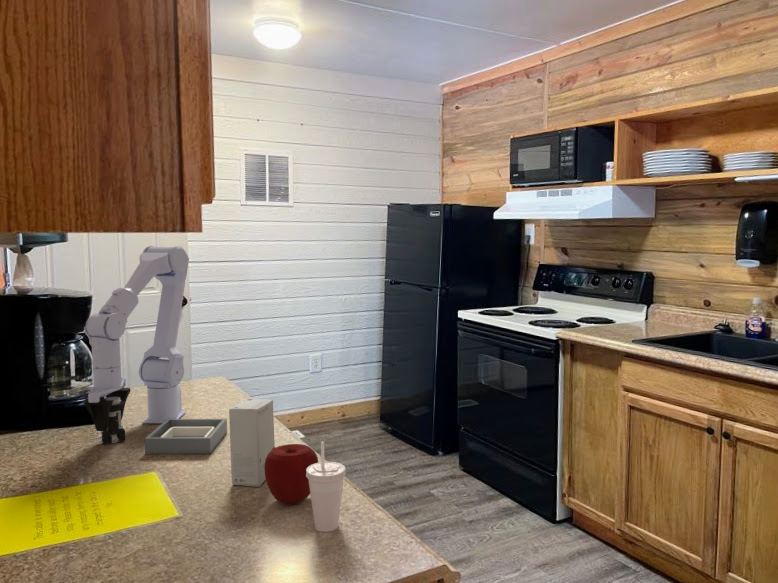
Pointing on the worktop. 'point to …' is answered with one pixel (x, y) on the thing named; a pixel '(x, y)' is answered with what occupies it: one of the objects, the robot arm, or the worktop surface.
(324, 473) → the smoothie
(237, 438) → the skincare box
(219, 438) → the grey square tray
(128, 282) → the robot arm
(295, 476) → the apple
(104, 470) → the worktop surface
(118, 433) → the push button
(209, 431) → the cream rectangular frame
